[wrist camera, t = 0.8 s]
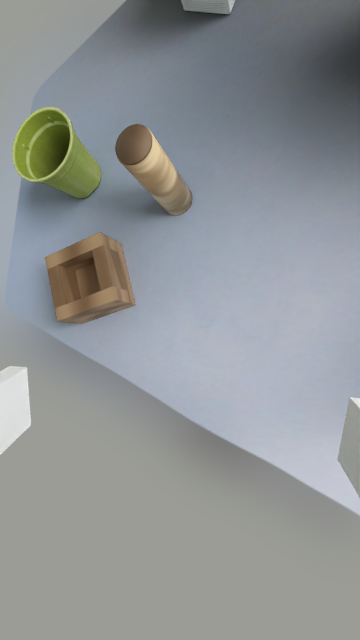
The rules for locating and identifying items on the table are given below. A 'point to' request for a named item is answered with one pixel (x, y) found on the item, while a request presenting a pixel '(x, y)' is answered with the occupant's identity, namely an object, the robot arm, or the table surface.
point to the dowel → (153, 168)
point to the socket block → (89, 279)
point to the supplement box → (209, 6)
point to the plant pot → (54, 154)
